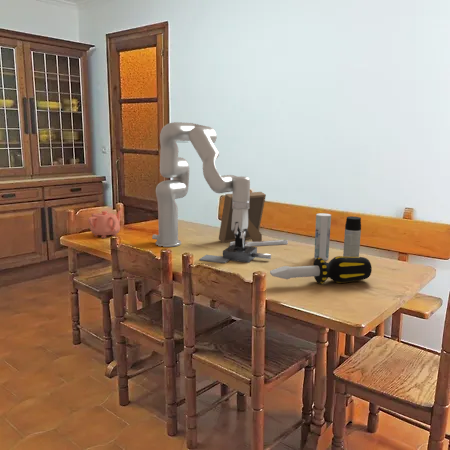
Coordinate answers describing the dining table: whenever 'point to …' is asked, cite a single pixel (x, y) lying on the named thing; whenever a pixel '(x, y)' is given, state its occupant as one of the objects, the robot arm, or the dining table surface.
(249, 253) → the block
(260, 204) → the photo frame
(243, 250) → the key
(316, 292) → the dining table surface
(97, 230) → the teapot
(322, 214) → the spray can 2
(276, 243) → the wrench
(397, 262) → the dining table surface
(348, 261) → the screwdriver
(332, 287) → the dining table surface
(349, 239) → the spray can
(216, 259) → the mat
